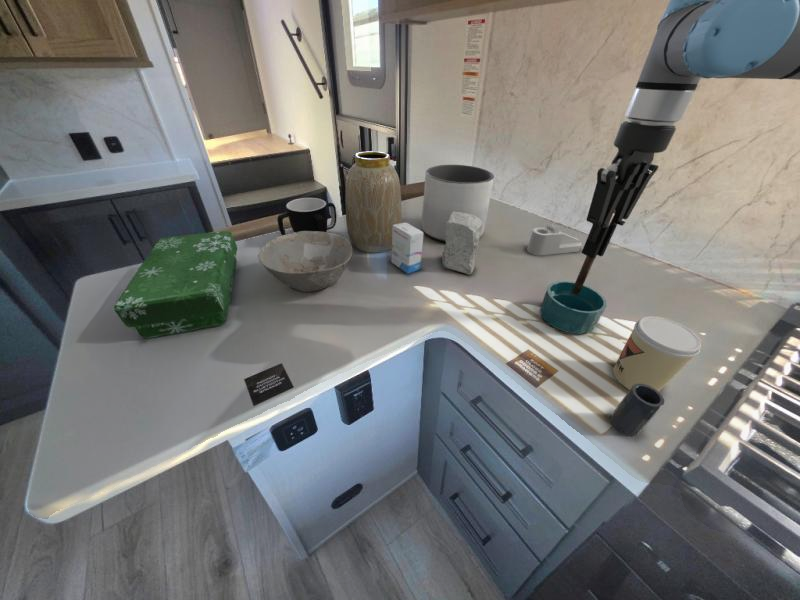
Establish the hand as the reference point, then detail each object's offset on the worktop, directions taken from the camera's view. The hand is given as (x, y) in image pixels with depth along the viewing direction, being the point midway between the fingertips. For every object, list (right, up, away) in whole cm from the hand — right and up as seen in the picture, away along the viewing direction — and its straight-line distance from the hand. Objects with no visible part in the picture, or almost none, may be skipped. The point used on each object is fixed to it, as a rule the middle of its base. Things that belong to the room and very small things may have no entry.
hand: (592, 254), depth 64 cm
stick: (0, -8, +6) cm, 10 cm away
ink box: (-37, +1, +29) cm, 47 cm away
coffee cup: (+6, -25, -3) cm, 26 cm away
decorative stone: (-22, +1, +30) cm, 37 cm away
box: (-89, -8, +15) cm, 91 cm away
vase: (-47, +9, +40) cm, 63 cm away
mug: (-68, +11, +41) cm, 80 cm away
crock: (-2, -30, -11) cm, 32 cm away
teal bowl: (+1, -14, +11) cm, 17 cm away
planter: (-20, +15, +49) cm, 55 cm away
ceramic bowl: (-62, -5, +20) cm, 66 cm away
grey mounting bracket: (+11, +7, +39) cm, 42 cm away
